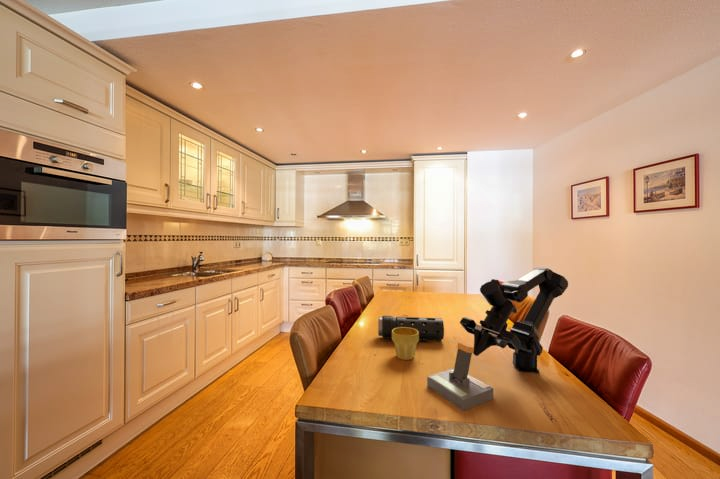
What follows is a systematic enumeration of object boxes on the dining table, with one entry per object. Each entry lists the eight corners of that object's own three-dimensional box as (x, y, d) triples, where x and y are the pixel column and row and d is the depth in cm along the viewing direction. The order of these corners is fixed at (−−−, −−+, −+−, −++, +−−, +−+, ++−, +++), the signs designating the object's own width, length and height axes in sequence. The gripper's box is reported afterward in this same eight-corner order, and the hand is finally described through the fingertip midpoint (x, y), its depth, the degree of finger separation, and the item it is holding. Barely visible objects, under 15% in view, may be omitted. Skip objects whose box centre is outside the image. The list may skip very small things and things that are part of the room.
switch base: (455, 376, 93) (455, 361, 92) (493, 398, 80) (493, 381, 80) (427, 385, 87) (427, 369, 87) (463, 410, 75) (463, 392, 74)
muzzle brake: (444, 345, 119) (444, 321, 119) (378, 342, 122) (378, 318, 122) (440, 337, 129) (440, 315, 129) (378, 334, 132) (378, 312, 132)
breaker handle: (456, 378, 86) (463, 343, 87) (467, 384, 82) (474, 347, 83) (451, 377, 85) (458, 342, 86) (461, 384, 81) (468, 347, 82)
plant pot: (385, 356, 108) (386, 330, 108) (402, 348, 116) (402, 324, 115) (408, 365, 101) (408, 337, 101) (424, 356, 108) (424, 331, 108)
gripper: (538, 338, 86) (515, 382, 81) (485, 322, 103) (463, 358, 98) (523, 316, 83) (498, 361, 77) (470, 302, 99) (447, 339, 94)
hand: (475, 354), depth 87 cm, fingers closed
